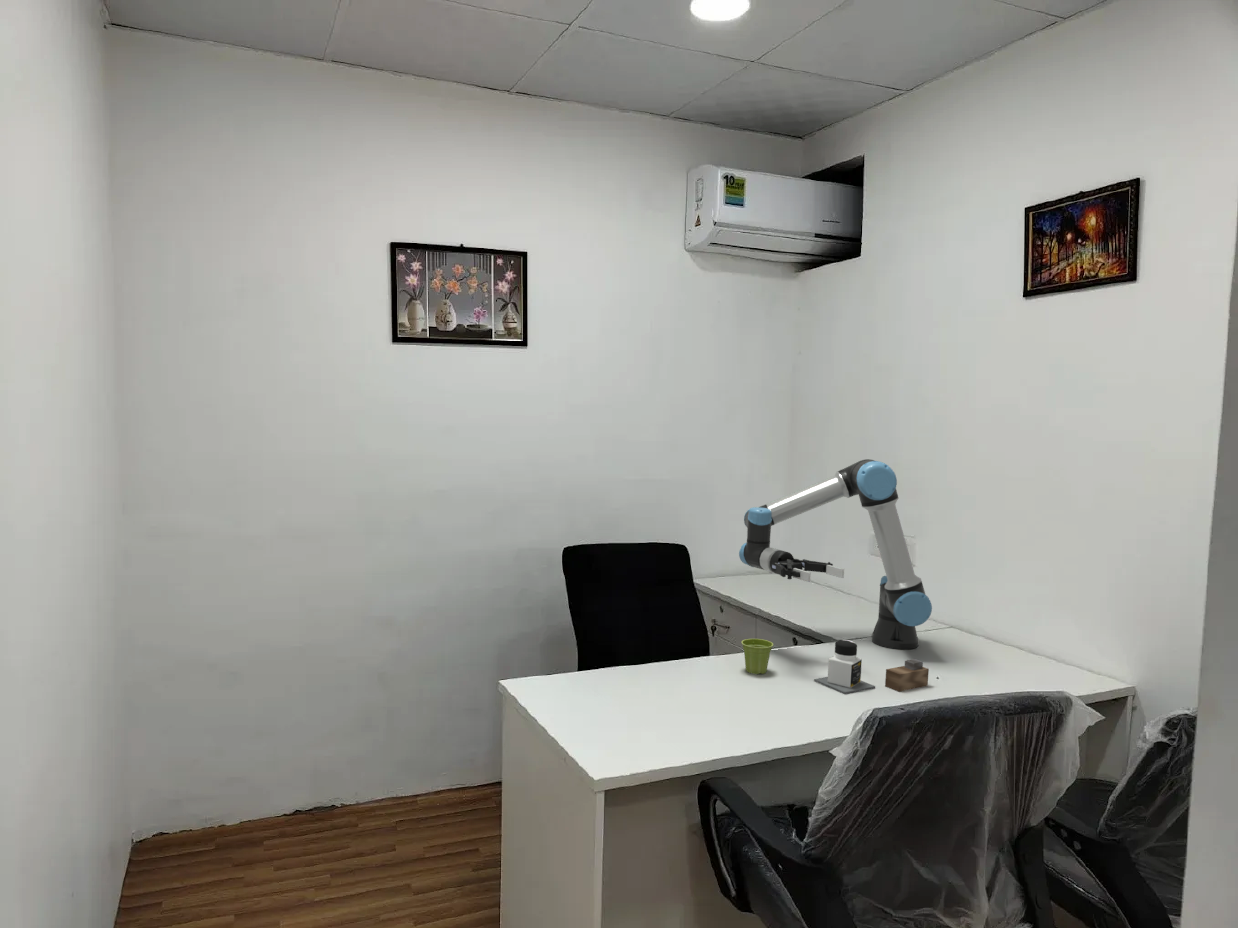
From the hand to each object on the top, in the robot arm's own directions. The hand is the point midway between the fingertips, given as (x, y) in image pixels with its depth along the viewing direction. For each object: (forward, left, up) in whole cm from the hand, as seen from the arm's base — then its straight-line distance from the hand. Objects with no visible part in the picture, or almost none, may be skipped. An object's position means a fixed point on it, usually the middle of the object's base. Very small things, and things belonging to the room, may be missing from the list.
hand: (826, 575), depth 247 cm
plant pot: (+16, -10, -30) cm, 36 cm away
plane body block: (-16, +18, -30) cm, 38 cm away
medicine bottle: (0, +10, -29) cm, 31 cm away
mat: (0, +10, -30) cm, 31 cm away
